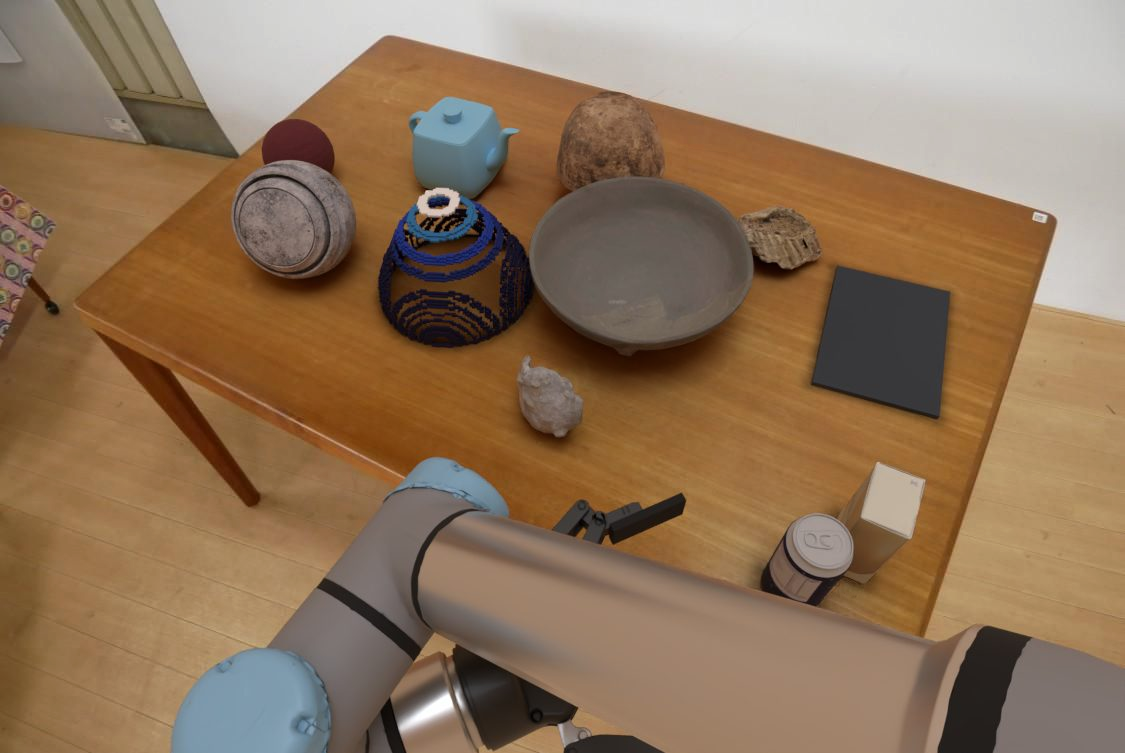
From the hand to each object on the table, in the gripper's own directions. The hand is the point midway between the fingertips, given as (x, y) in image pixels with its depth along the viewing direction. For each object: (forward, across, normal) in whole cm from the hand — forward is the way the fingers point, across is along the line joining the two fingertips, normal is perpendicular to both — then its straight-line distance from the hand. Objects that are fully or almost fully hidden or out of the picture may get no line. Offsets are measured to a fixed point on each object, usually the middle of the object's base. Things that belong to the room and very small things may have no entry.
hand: (726, 577), depth 53 cm
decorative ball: (-20, -82, -15) cm, 86 cm away
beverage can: (+10, 0, -15) cm, 18 cm away
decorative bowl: (-6, -52, -15) cm, 54 cm away
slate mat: (+38, -21, -14) cm, 46 cm away
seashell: (+34, -39, -15) cm, 54 cm away
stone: (-4, -28, -15) cm, 31 cm away
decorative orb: (-23, -65, -15) cm, 71 cm away
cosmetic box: (+18, -1, -15) cm, 23 cm away
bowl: (+13, -39, -15) cm, 44 cm away
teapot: (+3, -72, -15) cm, 74 cm away
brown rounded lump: (+20, -59, -15) cm, 64 cm away
